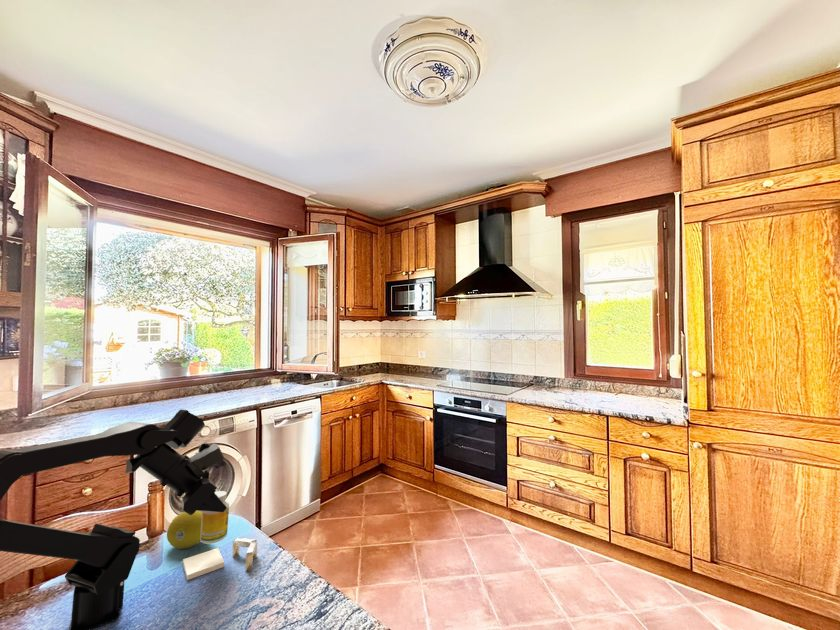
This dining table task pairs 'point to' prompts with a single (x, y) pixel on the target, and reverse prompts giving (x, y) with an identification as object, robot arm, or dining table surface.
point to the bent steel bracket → (250, 553)
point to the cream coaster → (202, 563)
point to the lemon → (185, 530)
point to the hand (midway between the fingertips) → (222, 505)
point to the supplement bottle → (215, 522)
